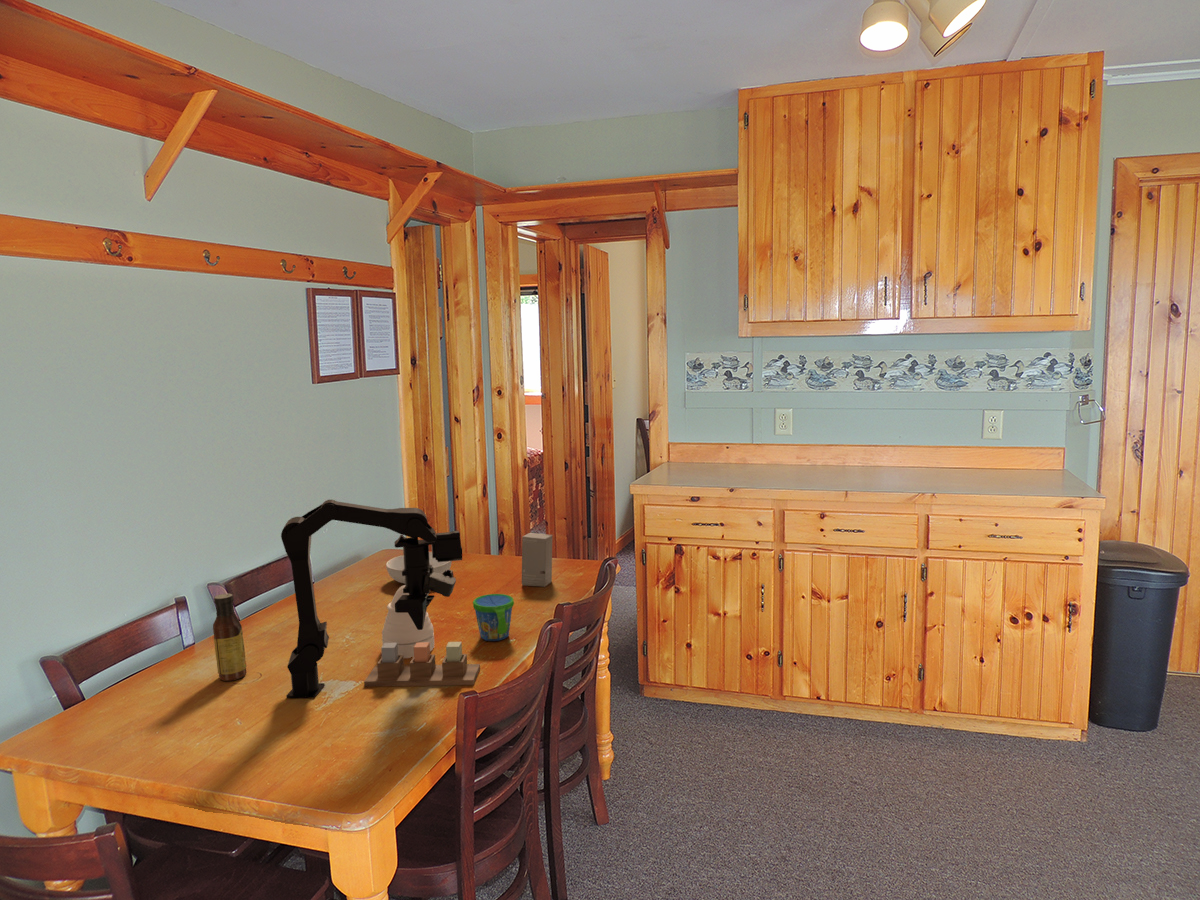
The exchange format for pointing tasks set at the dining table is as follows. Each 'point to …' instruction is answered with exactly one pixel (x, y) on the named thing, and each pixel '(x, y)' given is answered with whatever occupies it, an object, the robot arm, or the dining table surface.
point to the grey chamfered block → (389, 652)
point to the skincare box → (536, 559)
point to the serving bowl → (397, 566)
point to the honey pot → (405, 629)
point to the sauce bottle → (228, 640)
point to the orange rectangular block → (422, 652)
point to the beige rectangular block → (454, 651)
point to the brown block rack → (423, 673)
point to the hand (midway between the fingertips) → (420, 629)
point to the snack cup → (493, 616)
